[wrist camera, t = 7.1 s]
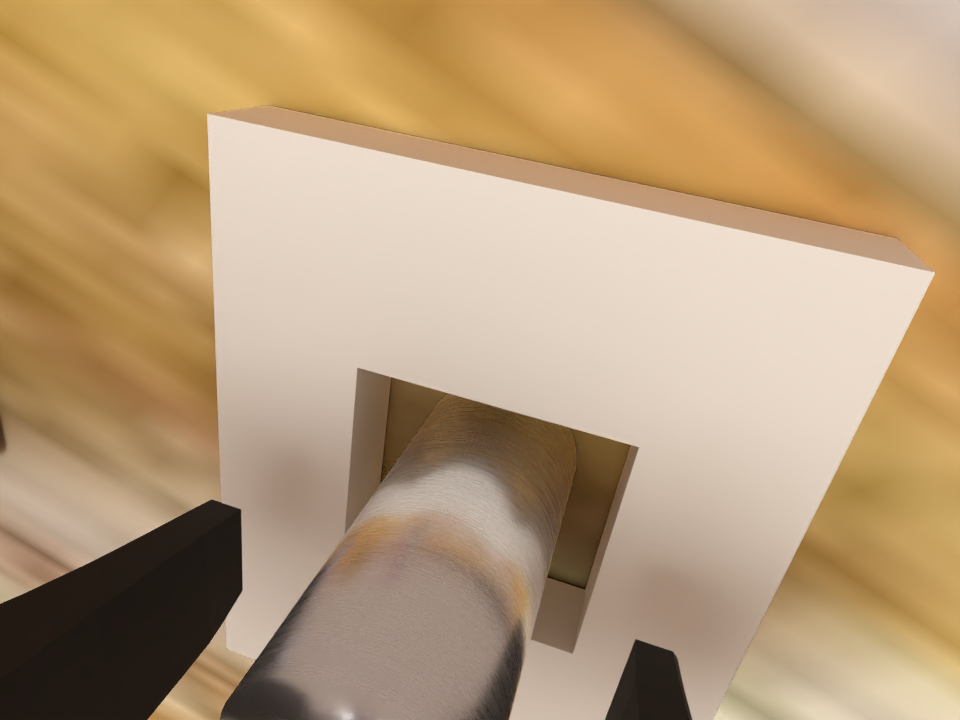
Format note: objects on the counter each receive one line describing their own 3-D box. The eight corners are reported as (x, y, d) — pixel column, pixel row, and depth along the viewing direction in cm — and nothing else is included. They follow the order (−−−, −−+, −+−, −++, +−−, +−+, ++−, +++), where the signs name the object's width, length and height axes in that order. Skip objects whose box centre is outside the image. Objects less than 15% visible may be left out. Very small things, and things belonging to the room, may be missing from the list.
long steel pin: (429, 500, 17) (242, 826, 10) (423, 370, 15) (196, 647, 8) (573, 524, 16) (480, 904, 9) (581, 389, 14) (479, 720, 7)
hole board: (267, 596, 20) (226, 648, 18) (269, 105, 13) (207, 113, 12) (666, 740, 18) (664, 815, 16) (897, 238, 11) (934, 272, 10)
